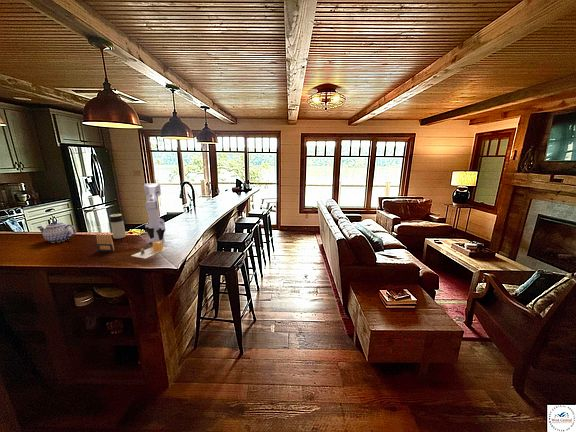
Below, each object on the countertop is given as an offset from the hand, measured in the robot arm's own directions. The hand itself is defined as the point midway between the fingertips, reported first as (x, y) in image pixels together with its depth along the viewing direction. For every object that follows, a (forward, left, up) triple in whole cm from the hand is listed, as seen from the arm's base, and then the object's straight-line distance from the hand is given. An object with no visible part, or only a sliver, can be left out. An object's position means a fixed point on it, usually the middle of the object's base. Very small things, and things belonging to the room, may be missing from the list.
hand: (156, 239), depth 149 cm
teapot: (-87, -8, -9) cm, 88 cm away
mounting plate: (-2, -4, -9) cm, 10 cm away
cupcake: (0, 0, -8) cm, 8 cm away
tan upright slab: (-34, -10, -9) cm, 37 cm away
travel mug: (-52, +12, -9) cm, 54 cm away
